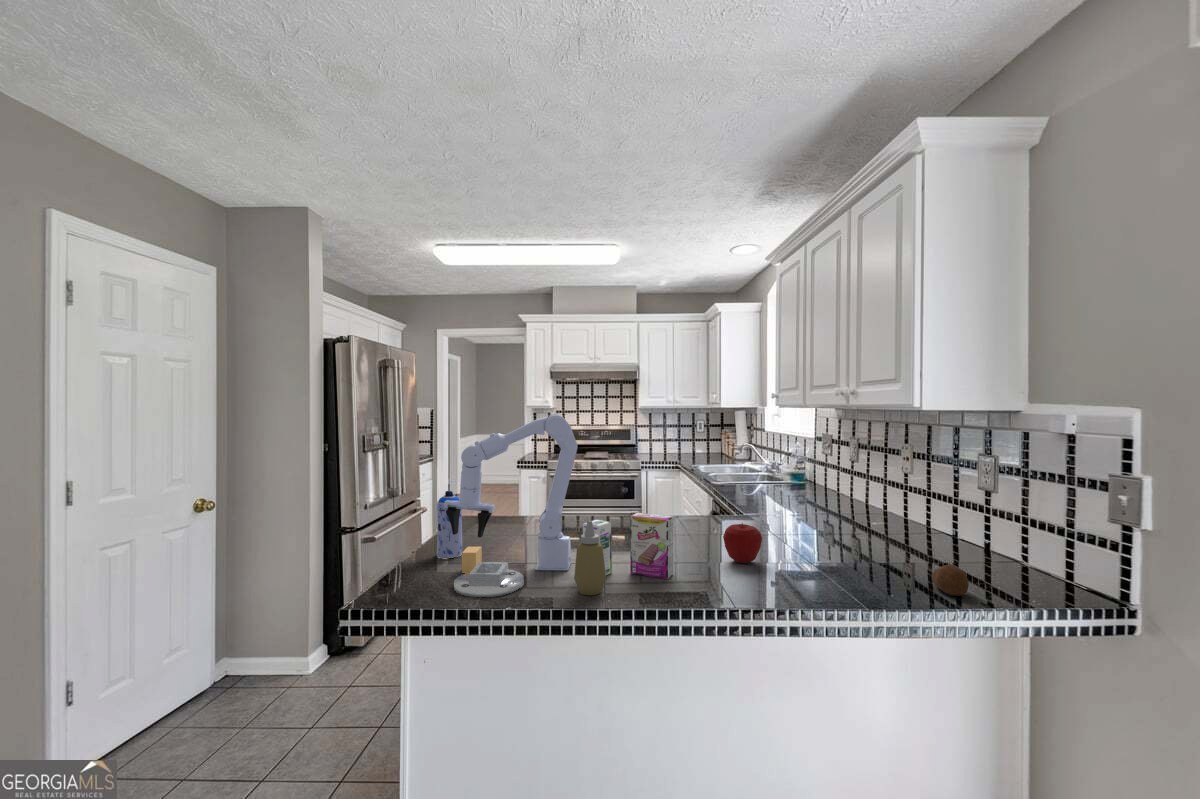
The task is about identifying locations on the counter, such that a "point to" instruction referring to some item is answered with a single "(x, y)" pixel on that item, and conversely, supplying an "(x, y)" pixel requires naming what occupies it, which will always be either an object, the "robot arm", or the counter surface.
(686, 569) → the counter surface
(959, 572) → the potato
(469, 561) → the tan rectangular block
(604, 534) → the syrup box
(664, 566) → the candy bar box
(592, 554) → the squeeze bottle
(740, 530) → the apple
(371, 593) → the counter surface
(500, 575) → the gray round plate
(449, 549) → the aerosol can
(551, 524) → the robot arm
